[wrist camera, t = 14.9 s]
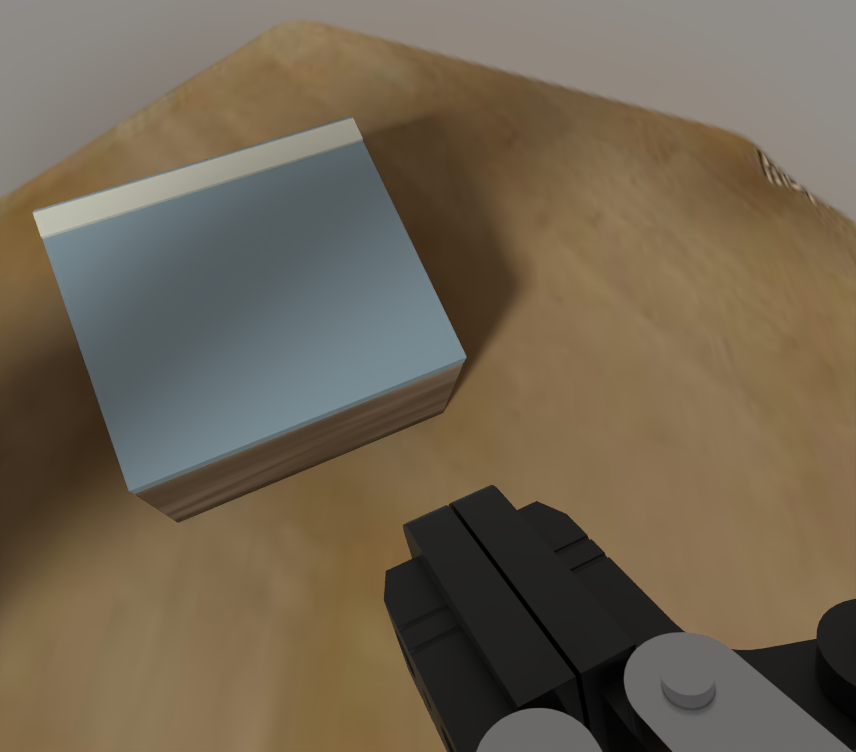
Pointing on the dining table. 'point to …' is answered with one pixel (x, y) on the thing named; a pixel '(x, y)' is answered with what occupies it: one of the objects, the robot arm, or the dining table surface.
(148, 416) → the lid
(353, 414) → the box
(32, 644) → the dining table surface
